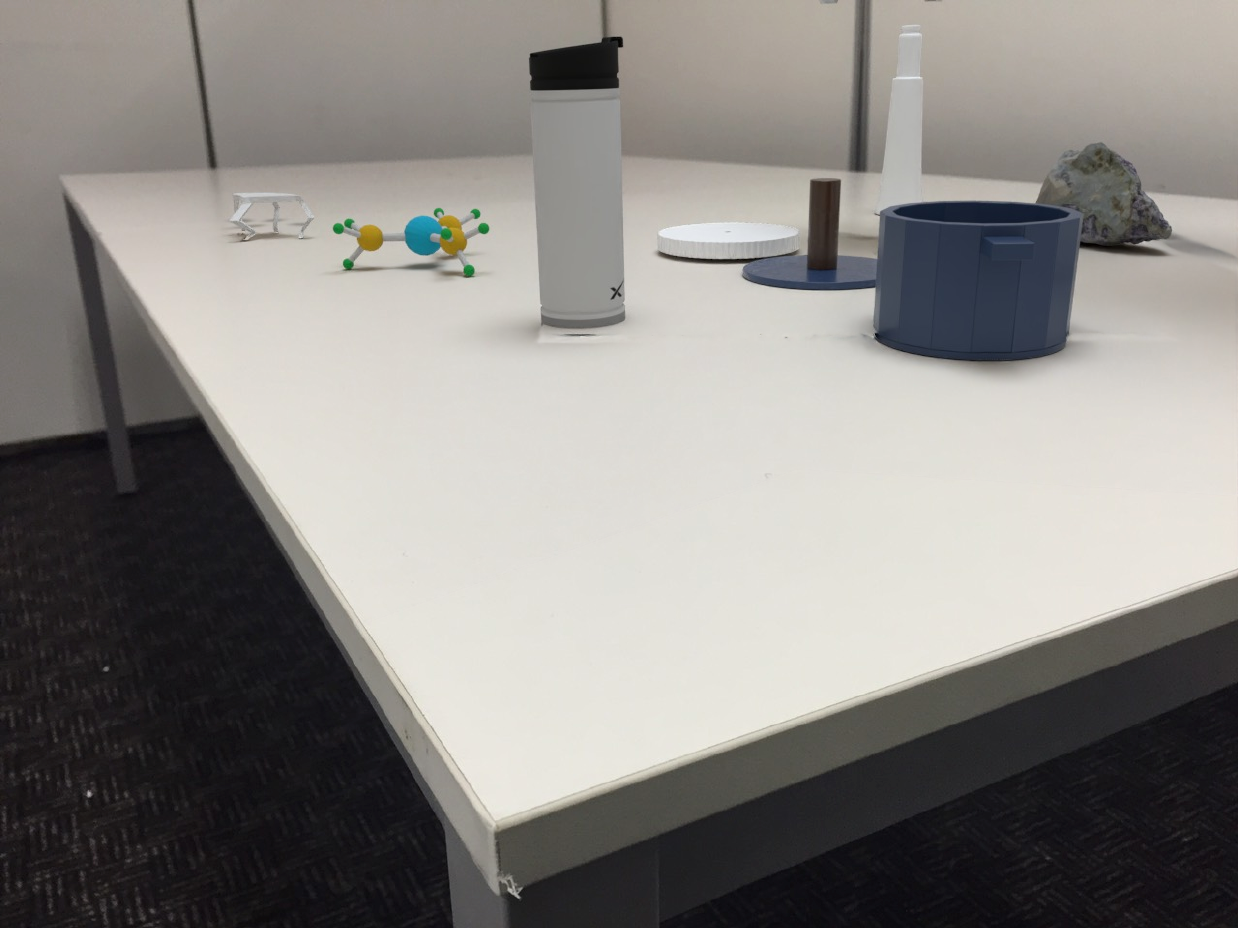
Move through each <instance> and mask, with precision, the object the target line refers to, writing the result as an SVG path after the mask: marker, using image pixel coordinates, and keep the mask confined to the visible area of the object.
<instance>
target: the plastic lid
mask: <svg viewBox="0 0 1238 928" xmlns="http://www.w3.org/2000/svg"><path fill="white" fill-rule="evenodd" d="M656 235H657V238H656V240H657V250H658V252H661V253H663V254H666V255H670V256H674V257H676V256H677V257H683V258H689V259H690V258H691V259H692V258H693V259H706V260H711V259H712V260H737V259H739V260H742V259H747V260H748V259H755V258H756V259H759V258H772V257H778V256H782V255H786V254H790V253H793V252H797V251H798V250H799V249H800V230H799V229H797V228H795V227H793V226H788V225H783V224H774V223H764V222H761V223H760V222H746V221H745V222H742V221H739V222H736V221H733V222H730V221H726V222H723V221H721V222H703V223H702V222H701V223H693V224H692V223H690V224H683V225H682V224H681V225H675V226H670V227H667V228H662V229H660V230H658V231H657V233H656Z"/></svg>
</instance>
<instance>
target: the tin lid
mask: <svg viewBox="0 0 1238 928" xmlns="http://www.w3.org/2000/svg"><path fill="white" fill-rule="evenodd" d="M841 188H842V179H841V178H835V177H818V178H816V177H815V178H811V179H809V197H808V198H809V199H808V201H809V202H808V222H807V223H808V227H807V228H808V229H807V253H806V254H800V255H785V256H773V257H766V258H762V259H757V260H753V261H751V262H748V263H746V264H744V266H742V276H743V278H744V279H745V280H748V281H750V282H753V283H755V284H760V285H765V286H771V287H778V288H786V289H794V290H795V289H796V290H816V291H817V290H818V291H819V290H822V291H823V290H825V291H827V290H829V291H830V290H831V291H832V290H836V291H837V290H855V289H856V290H857V289H866V288H876V272H877V258H874V257H865V256H856V255H841V254H839V236H840V235H839V233H840V232H839V231H840V215H841V214H840V211H841V190H842V189H841ZM838 254H839V255H838Z"/></svg>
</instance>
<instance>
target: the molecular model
mask: <svg viewBox="0 0 1238 928" xmlns="http://www.w3.org/2000/svg"><path fill="white" fill-rule="evenodd" d="M433 215H434V217H435V218H434V217H432V216H429V215H418V216H414V217H413V218H412V219H410V220H409V221H408V223H407V224H406V225H405V228H404V232H388V233H387V232H383V231H382V229H380V227H378V226H376V225H375V224H365V225H362V226H360V225H358V224H357V223H356V221H355V220H354V219H353V218H346V219H345V220H344V222H343V224H342V223H340V222H336V223H334V224H333V226H332V231H333V233H334V234H336V235H342V234H346V235H348V236H351V237H354V238H356V241H357V244H358V247H357V248H356V249H355V250H354V251H353V252H352V254H351V255H350V256H349V257H348V258H345V259H344V260H342V266H343V268H344V269H346V270H351V269H353V268H354V266H355V261H356V260H357V259H358V258H359V256H361V255H362V253H363V252H364V251H367V252H376V251H377V250H378V251H379V249H380V248H381V247H382V246H383V244H384V242H404V243H405V244H406V246H407V247H408V249H409V250H410V251H411V252H412V253H414V254H415V255H418V256H425V257H426V256H431V255H434V254H435V253H437V252H438V251H439V250H440V249H442V251H443V252H444V253H445V254H448V255H451V256H457V258H458V259H459V261H460V263H461V265H462V267H463V274H464V275H465V276H467V277H471V276H473V275H474V274H475V272H476V271H475V267H474V266H473V265H472V264H470V263H469V261H468V259H467V257H466V255H465V254H464V251H465V250H466V249H467V245H468V240H469V239H472V238H473V237H475V236H477V235H479V234H480V235H487V234H488V233H489V232H490V226H489V224H488V223H486V222H480V223H479V224H478V226H477V227H475V228H472V229H470V230H469V231H466V232H464V231H463V230H462V229H463V227H462V226H464V224H466V223H468V222H470V221H473V219H474V220H478V219H479V218H480V217H481V211H480V209H478V208H473V209H471V210H470V212H469V214H467V215H466V216H463V217H461V218H460V219H458V218H457V217H456V216H454V215H451V214H450V215H449V214H448V215H445V211H444V209H442V208H441V207H436V208H435V209H434V210H433ZM437 219H438V220H437Z"/></svg>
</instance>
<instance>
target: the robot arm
mask: <svg viewBox="0 0 1238 928" xmlns="http://www.w3.org/2000/svg"><path fill="white" fill-rule="evenodd" d="M838 1H839V0H819V3H820V4H821V5H825V4H826V5H830V4H837V3H838ZM924 2H943V0H924Z"/></svg>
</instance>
